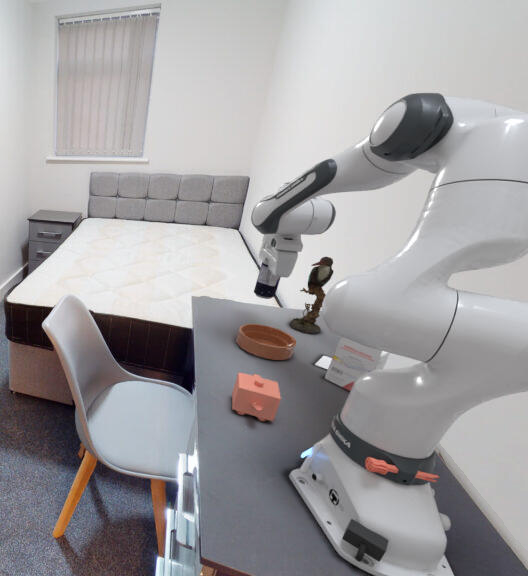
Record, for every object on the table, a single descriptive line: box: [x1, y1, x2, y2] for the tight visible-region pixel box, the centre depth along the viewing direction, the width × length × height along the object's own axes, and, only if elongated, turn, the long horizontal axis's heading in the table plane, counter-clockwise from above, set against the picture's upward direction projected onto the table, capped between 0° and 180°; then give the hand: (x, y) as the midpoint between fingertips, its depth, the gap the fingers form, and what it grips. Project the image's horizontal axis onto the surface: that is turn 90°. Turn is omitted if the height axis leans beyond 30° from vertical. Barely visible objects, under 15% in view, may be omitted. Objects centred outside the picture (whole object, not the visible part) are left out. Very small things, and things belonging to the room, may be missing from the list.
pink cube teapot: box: [231, 371, 282, 422], centre depth 83 cm, size 8×12×8 cm, turn 152°
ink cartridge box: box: [324, 336, 391, 392], centre depth 91 cm, size 9×5×15 cm, turn 25°
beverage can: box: [253, 258, 282, 300], centre depth 114 cm, size 6×6×12 cm
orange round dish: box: [235, 323, 297, 361], centre depth 109 cm, size 14×14×4 cm
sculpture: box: [288, 256, 334, 335], centre depth 117 cm, size 8×14×25 cm, turn 126°
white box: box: [314, 355, 333, 370], centre depth 102 cm, size 8×8×1 cm
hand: (267, 281), depth 115 cm, fingers closed on beverage can, 5 cm apart
